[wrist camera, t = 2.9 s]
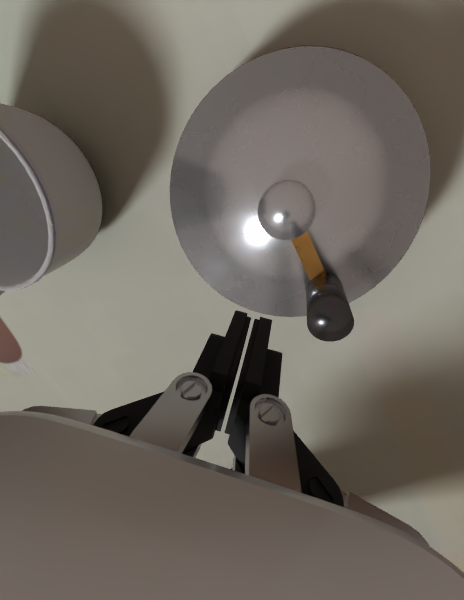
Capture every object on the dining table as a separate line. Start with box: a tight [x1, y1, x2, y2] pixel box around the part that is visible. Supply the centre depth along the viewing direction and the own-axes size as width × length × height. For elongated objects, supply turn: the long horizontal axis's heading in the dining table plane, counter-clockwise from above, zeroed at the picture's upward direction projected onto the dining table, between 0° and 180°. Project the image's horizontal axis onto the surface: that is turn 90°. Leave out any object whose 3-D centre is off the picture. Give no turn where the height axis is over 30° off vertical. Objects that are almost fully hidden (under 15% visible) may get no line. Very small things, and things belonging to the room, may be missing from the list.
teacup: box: [0, 104, 102, 295], centre depth 20 cm, size 14×11×8 cm
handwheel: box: [170, 46, 431, 341], centre depth 15 cm, size 14×14×6 cm
